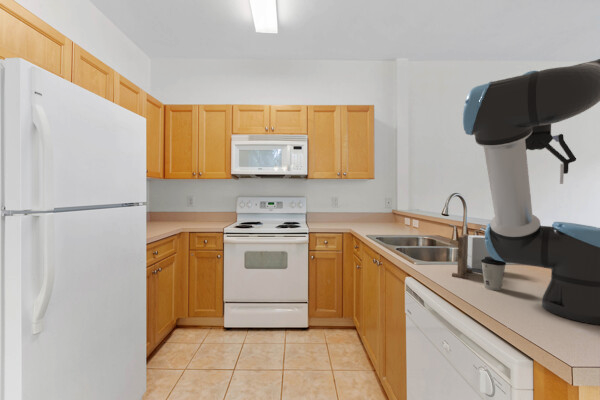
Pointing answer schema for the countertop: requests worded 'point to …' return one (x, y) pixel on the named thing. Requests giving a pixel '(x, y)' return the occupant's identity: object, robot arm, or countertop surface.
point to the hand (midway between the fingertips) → (535, 184)
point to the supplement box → (476, 251)
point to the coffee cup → (493, 273)
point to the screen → (462, 257)
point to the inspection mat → (475, 269)
